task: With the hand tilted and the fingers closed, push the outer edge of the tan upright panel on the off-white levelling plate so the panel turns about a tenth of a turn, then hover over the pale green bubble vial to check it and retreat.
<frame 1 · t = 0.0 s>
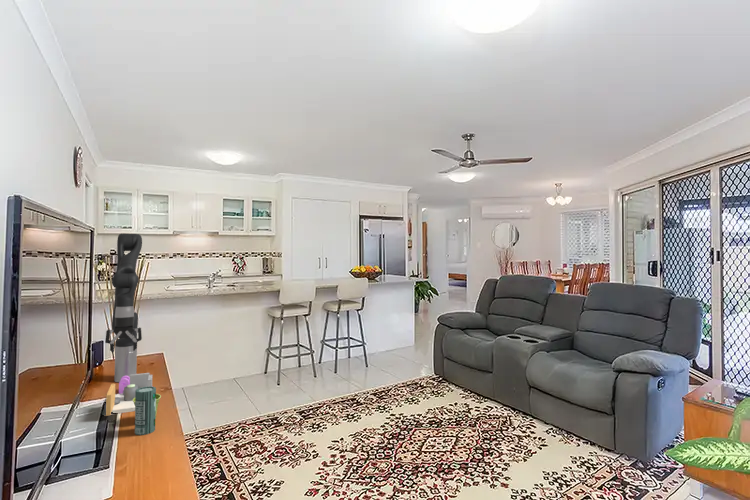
hand: (123, 351, 188), 17 cm above the tv stand, tool pointing down, fingers open, 8 cm apart
tan upright panel: (111, 398, 160), point 6 cm above the tv stand, hinge at 0.0°
plant pot: (146, 421, 153), on the tv stand
bracket: (136, 391, 184), on the tv stand
can: (145, 431, 144), on the tv stand
levelling plate: (130, 403, 169), on the tv stand
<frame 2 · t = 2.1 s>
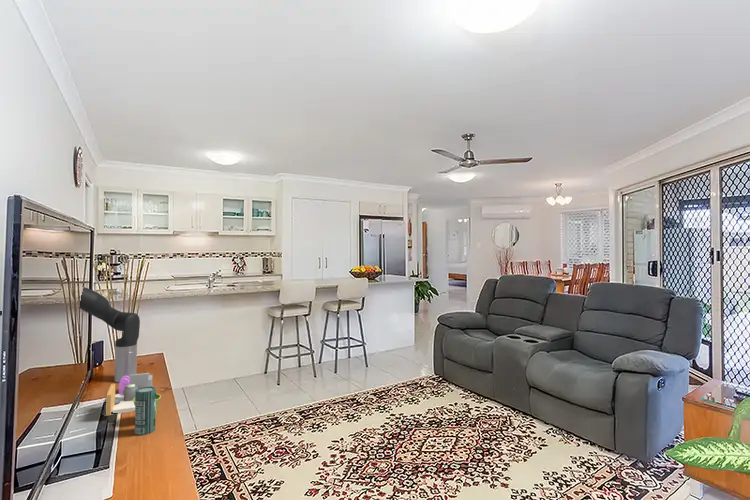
hand: (50, 379, 147), 17 cm above the tv stand, tool tilted 45°, fingers open, 8 cm apart
nothing on the tv stand moved.
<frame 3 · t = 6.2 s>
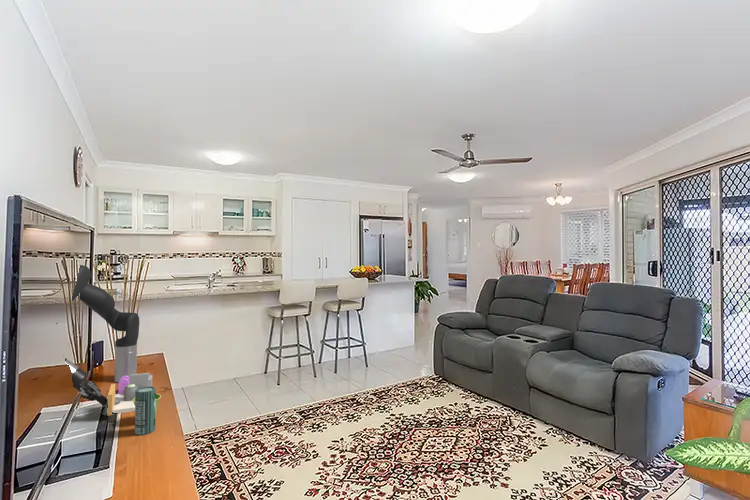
hand: (106, 403, 155), 5 cm above the tv stand, tool tilted 45°, fingers closed
tan upright panel: (111, 398, 160), point 6 cm above the tv stand, hinge at 1.8°, touching gripper
everything else where it was.
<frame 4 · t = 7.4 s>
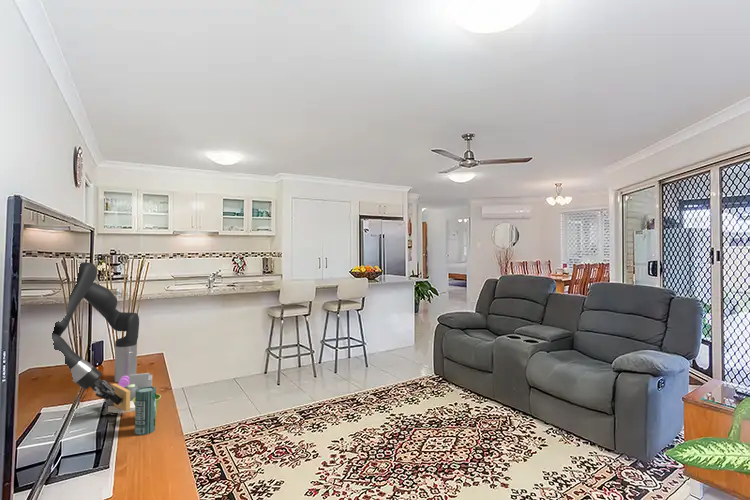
hand: (120, 402, 157), 5 cm above the tv stand, tool tilted 45°, fingers closed
tan upright panel: (119, 396, 162), point 6 cm above the tv stand, hinge at 26.7°, touching gripper
everything else where it was.
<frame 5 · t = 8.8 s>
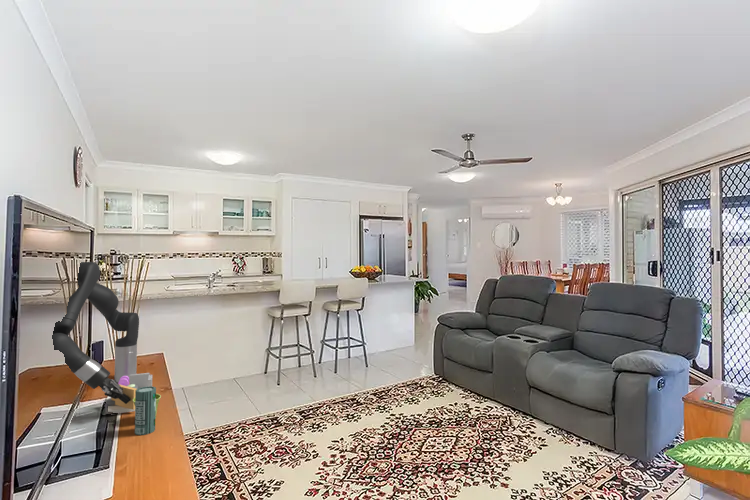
hand: (128, 401, 158), 5 cm above the tv stand, tool tilted 45°, fingers closed
tan upright panel: (122, 395, 162), point 6 cm above the tv stand, hinge at 37.9°, touching gripper
everything else where it was.
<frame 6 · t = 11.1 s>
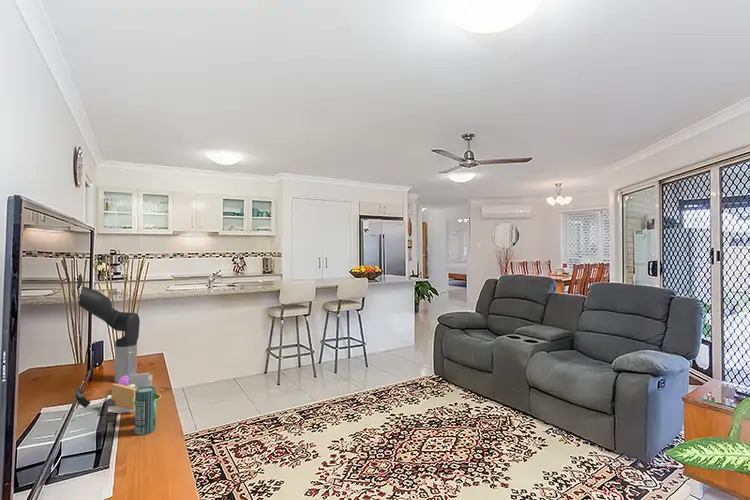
hand: (88, 405, 152), 6 cm above the tv stand, tool tilted 45°, fingers closed
tan upright panel: (122, 395, 162), point 6 cm above the tv stand, hinge at 38.0°
everything else where it was.
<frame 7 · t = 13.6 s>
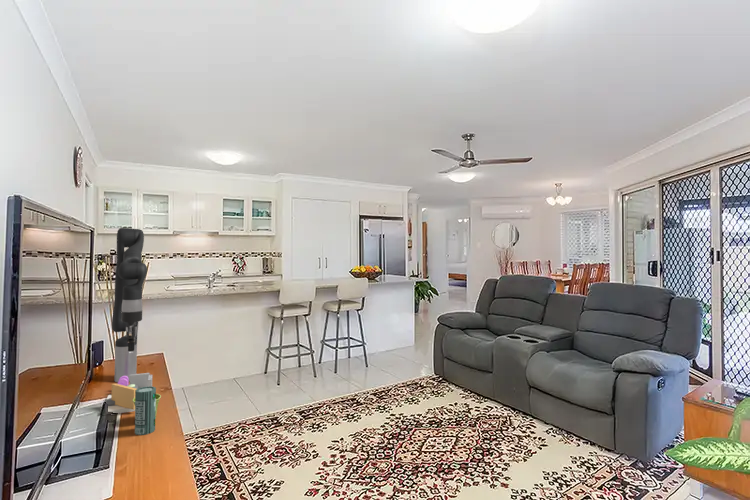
hand: (131, 350, 170), 22 cm above the tv stand, tool pointing down, fingers closed
nothing on the tv stand moved.
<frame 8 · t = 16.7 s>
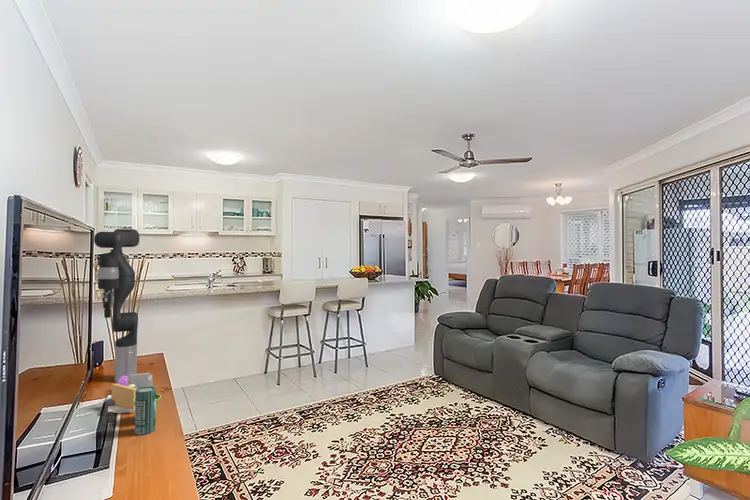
hand: (107, 317, 175), 35 cm above the tv stand, tool pointing down, fingers closed
nothing on the tv stand moved.
at the end: tan upright panel at +38° (first picture: +0°) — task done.
